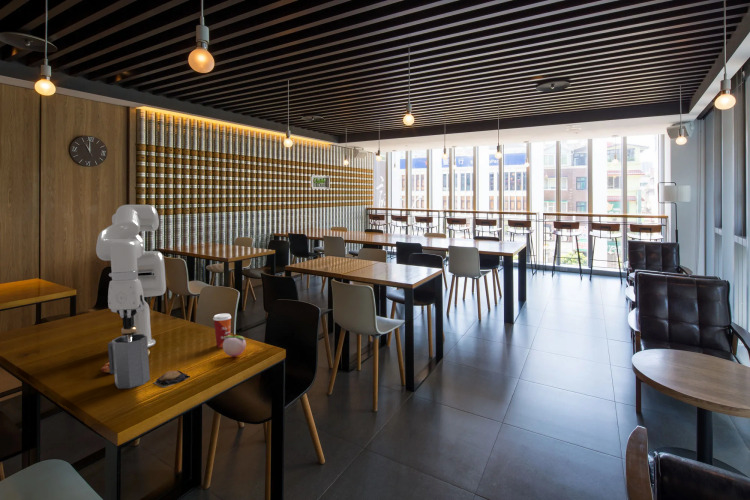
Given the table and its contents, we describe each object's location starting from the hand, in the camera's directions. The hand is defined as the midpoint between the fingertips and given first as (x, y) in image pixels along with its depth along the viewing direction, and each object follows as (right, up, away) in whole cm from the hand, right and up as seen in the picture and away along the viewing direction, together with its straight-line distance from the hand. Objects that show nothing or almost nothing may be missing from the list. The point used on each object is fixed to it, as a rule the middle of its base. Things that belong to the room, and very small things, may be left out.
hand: (128, 327), depth 136 cm
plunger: (0, -18, +2) cm, 18 cm away
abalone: (+13, -20, +4) cm, 25 cm away
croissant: (-11, -19, +18) cm, 28 cm away
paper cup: (+18, -16, +39) cm, 46 cm away
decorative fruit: (+28, -18, +25) cm, 41 cm away
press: (-1, -20, +2) cm, 20 cm away
